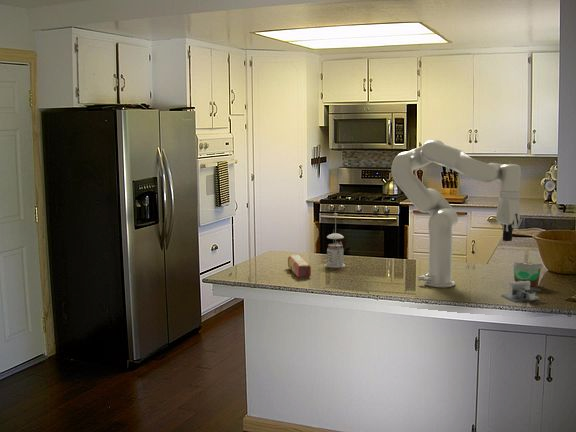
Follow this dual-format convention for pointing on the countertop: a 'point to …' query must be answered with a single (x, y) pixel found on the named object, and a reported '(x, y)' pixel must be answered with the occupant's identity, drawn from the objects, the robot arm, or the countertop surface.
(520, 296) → the gauge body
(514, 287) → the grey boxy piece
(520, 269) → the food container
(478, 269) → the countertop surface
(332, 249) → the french press
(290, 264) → the snack package
